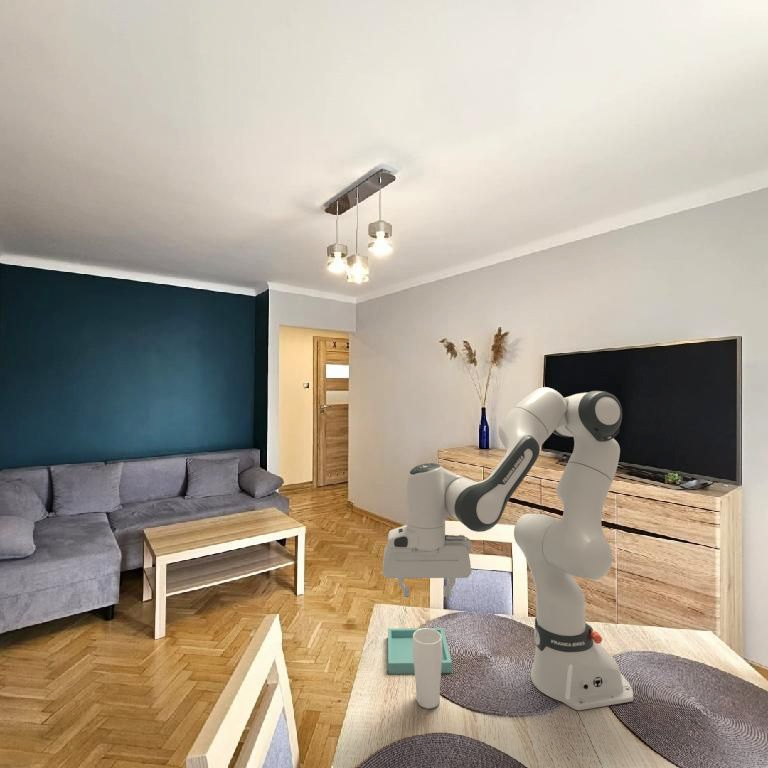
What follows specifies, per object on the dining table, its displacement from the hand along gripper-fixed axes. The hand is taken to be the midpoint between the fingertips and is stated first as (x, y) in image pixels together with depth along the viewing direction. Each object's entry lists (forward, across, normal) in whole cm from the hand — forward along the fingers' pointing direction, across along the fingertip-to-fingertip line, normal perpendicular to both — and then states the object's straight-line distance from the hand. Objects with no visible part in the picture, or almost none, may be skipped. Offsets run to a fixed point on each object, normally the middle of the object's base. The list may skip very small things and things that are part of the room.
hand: (426, 595), depth 100 cm
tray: (+24, +1, -18) cm, 30 cm away
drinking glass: (+24, 0, 0) cm, 24 cm away
